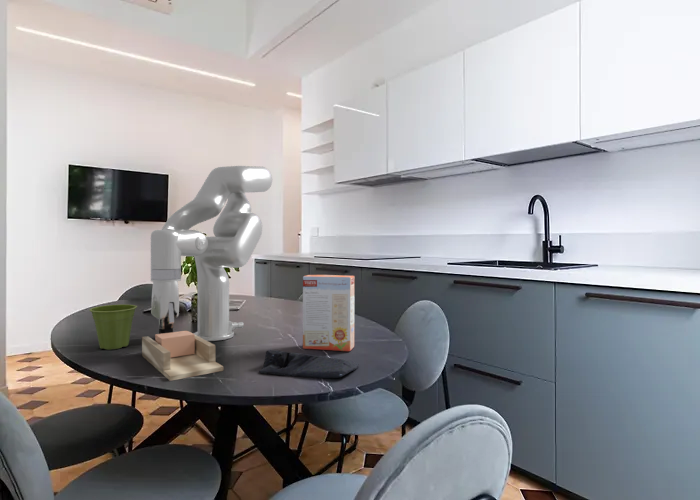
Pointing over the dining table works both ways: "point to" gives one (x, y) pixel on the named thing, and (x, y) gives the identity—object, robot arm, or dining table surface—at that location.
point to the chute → (181, 359)
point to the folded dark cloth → (305, 365)
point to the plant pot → (113, 325)
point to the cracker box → (328, 312)
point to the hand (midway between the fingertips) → (166, 342)
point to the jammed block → (177, 342)
